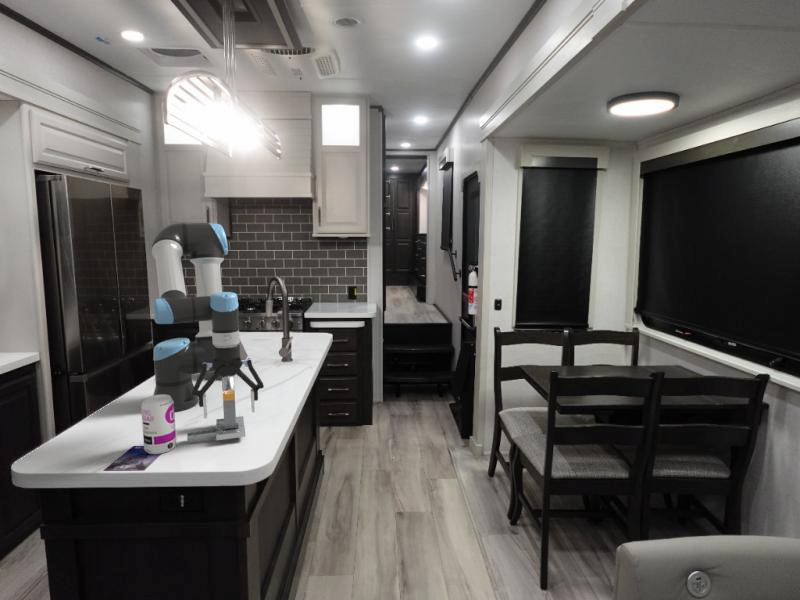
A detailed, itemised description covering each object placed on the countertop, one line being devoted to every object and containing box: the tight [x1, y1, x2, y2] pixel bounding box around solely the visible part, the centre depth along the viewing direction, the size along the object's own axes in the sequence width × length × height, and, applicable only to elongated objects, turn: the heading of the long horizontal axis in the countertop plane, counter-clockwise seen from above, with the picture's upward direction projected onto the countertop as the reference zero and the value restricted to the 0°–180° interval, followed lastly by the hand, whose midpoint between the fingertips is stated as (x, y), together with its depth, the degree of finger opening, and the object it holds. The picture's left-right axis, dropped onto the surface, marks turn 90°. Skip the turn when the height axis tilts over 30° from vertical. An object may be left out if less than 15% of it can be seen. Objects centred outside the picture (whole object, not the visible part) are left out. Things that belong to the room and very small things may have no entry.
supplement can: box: [140, 394, 177, 455], centre depth 137 cm, size 8×8×15 cm
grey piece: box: [186, 376, 246, 445], centre depth 147 cm, size 16×17×16 cm
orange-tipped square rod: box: [222, 390, 237, 440], centre depth 145 cm, size 3×3×14 cm
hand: (229, 413), depth 145 cm, fingers open, 13 cm apart
